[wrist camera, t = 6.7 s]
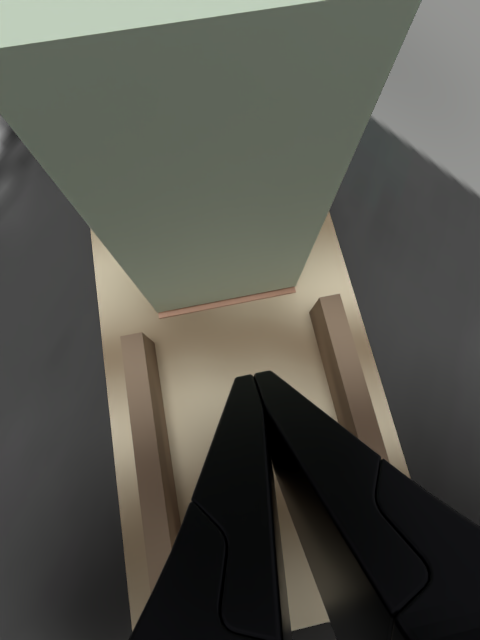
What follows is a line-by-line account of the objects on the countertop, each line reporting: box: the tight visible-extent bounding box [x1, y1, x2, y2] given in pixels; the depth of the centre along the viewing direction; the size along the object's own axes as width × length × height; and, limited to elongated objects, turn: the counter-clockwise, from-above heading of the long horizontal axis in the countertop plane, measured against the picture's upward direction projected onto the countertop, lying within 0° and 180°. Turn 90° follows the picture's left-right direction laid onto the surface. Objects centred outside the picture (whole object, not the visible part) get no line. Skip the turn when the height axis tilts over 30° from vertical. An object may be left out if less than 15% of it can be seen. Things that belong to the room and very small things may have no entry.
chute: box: [90, 212, 411, 631], centre depth 14 cm, size 20×11×3 cm, turn 12°
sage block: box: [0, 0, 422, 313], centre depth 10 cm, size 5×6×11 cm
